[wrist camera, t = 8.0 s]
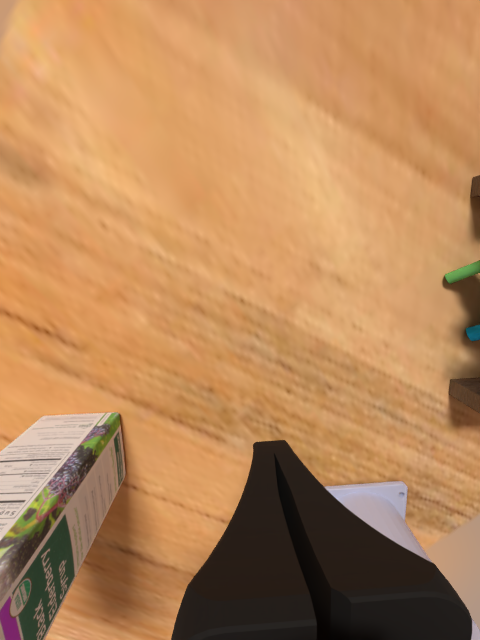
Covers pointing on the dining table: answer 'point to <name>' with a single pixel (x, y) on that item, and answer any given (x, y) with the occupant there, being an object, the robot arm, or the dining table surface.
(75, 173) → the dining table surface
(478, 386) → the frame
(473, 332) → the gear
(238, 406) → the dining table surface
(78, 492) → the syrup box
